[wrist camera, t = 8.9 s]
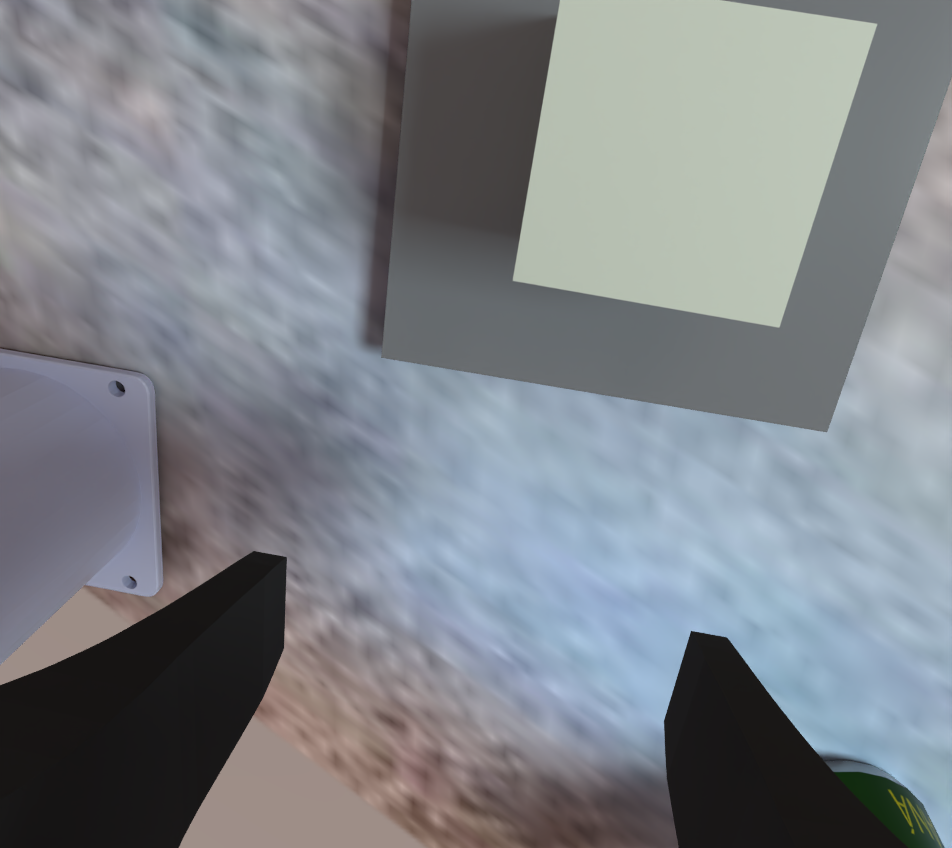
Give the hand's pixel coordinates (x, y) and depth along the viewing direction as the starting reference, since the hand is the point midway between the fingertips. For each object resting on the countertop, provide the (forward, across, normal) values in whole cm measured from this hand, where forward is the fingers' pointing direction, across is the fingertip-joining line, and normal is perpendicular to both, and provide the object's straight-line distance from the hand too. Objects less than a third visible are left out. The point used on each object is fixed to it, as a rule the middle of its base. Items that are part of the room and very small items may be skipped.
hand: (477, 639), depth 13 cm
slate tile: (+9, -2, -8) cm, 12 cm away
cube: (+8, -2, -8) cm, 12 cm away
